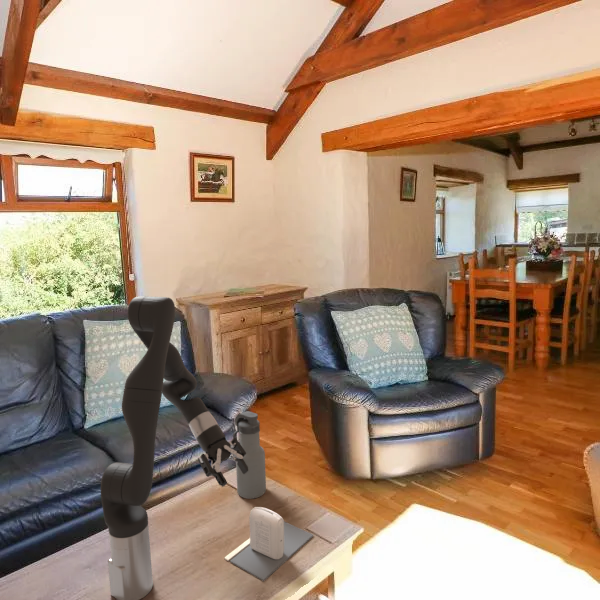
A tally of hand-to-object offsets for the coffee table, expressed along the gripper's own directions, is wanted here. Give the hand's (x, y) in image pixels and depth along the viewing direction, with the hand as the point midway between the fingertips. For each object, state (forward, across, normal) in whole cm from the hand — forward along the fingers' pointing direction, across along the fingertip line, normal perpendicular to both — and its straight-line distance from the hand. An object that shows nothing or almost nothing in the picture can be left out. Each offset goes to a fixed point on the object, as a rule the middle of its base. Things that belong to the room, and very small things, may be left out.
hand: (235, 478), depth 137 cm
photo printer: (+21, 0, +5) cm, 21 cm away
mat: (+20, +2, +6) cm, 21 cm away
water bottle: (+4, +20, +23) cm, 30 cm away
